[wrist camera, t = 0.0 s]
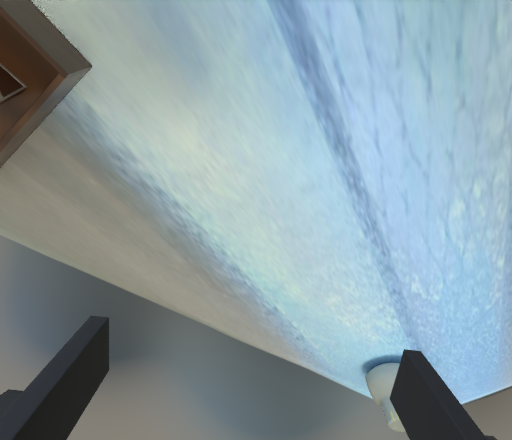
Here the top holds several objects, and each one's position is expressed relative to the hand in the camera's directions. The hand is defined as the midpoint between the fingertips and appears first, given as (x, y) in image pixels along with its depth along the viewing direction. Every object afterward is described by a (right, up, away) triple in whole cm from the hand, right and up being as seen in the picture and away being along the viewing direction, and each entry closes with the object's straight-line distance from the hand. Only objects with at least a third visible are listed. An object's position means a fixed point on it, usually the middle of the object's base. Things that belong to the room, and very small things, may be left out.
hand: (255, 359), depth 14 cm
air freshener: (+27, -24, +49) cm, 61 cm away
